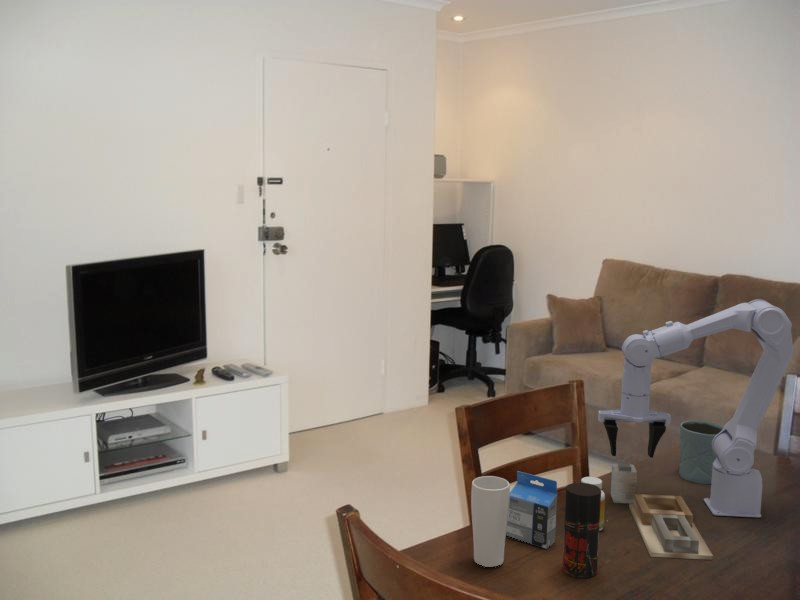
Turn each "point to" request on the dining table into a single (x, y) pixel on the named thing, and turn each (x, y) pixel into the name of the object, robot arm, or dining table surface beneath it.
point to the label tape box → (533, 510)
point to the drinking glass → (489, 519)
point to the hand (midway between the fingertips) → (631, 455)
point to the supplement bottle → (598, 483)
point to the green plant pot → (697, 450)
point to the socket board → (668, 527)
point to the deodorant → (581, 530)
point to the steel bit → (623, 483)
